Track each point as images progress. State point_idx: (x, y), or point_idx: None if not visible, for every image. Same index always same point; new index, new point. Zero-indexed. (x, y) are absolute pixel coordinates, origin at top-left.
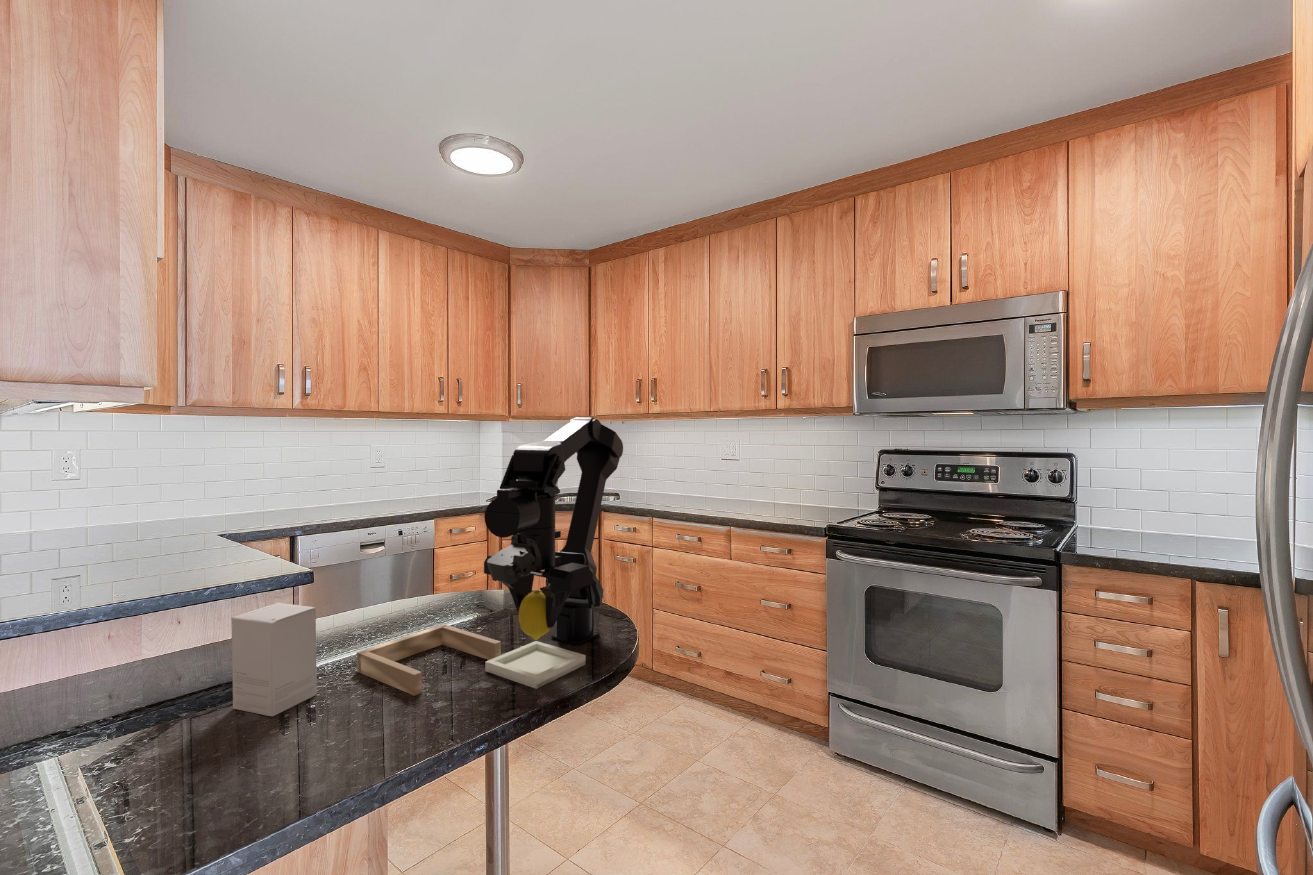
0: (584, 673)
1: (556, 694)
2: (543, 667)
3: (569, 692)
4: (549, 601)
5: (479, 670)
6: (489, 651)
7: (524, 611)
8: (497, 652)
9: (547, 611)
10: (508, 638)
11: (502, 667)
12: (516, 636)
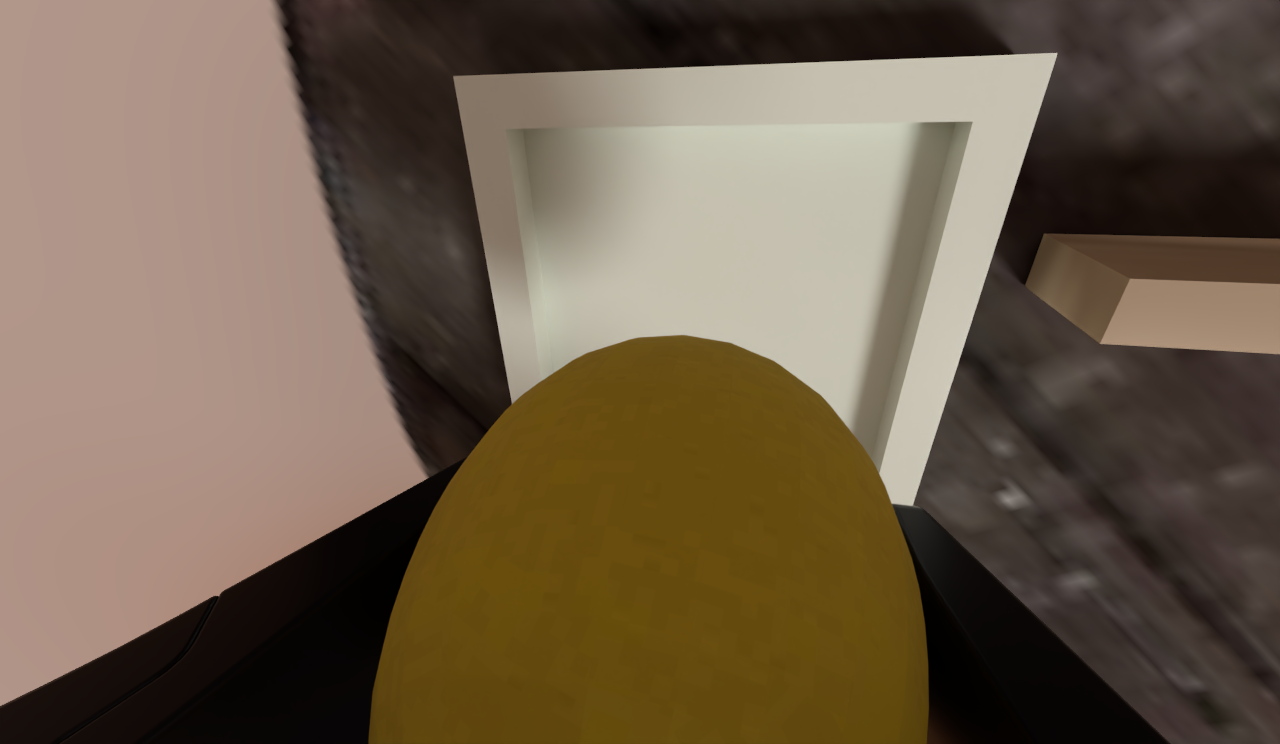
0: (471, 377)
1: (358, 100)
2: (638, 302)
3: (340, 167)
4: (30, 728)
5: (1083, 35)
6: (1160, 253)
7: (627, 474)
8: (1068, 276)
9: (323, 575)
10: (1185, 554)
11: (814, 63)
12: (1143, 588)
